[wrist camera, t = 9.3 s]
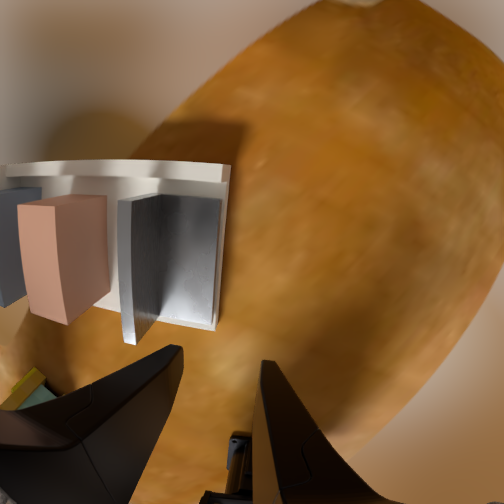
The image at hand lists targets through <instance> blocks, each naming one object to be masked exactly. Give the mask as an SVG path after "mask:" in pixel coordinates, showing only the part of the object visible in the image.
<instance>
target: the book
mask: <svg viewBox="0 0 504 504" xmlns="http://www.w3.org/2000/svg"><path fill="white" fill-rule="evenodd" d="M45 380H46V377H45V376H44V375H43V374H42V373H41V372H40V371H39V370H38V369H36V368H35V367H34V368H33V369H31V370H30V371H29V372H28V373H27V374H26V375H25V376H24V377H23V378H22V379H21V380H20V381H19V382H18V383H17V384H16V385H15V386H14V387H13V388H12V389H11V390H12V394H11V395H10V396H9V397H8V398H7V399H6V400H5V401H4V402H3V403H2V404H1V405H0V409H1V410H19V409H23V408H26V407H30V406H33V405H36V404H39V403H42V402H46V401H49V400H52V399H55V398H57V397H56V396H54V395H53V394H52V393H51V392H50V391H49V390H47V389H46V388H45V387H44V386H45ZM63 395H66V394H65V393H64V394H63ZM63 395H62V396H63Z"/></svg>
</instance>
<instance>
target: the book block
mask: <svg viewBox="0 0 504 504" xmlns="http://www.w3.org/2000/svg"><path fill="white" fill-rule="evenodd" d="M17 210H18V228H19V240H20V250H21V259H22V266H23V273H24V279H25V285H26V291H27V296H28V301H29V306H30V311H31V313H33V314H36V315H39V316H41V317H44V318H47V319H50V320H53V321H56V322H59V323H62V324H65V325H69V324H70V323H71V322H73V321H74V320H75V319H76V318H77V317H79V316H80V315H81V314H82V313H84V312H85V311H86V310H87V309H89V308H90V307H91V306H92V305H94V304H95V303H96V302H98V301H99V300H100V299H101V298H103V297H104V296H105V295H107V294H108V293H109V292H110V281H109V266H108V246H107V195H82V194H68V195H63V196H57V197H52V198H47V199H42V200H37V201H32V202H27V203H23V204H18V205H17Z"/></svg>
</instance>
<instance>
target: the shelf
mask: <svg viewBox="0 0 504 504" xmlns="http://www.w3.org/2000/svg"><path fill="white" fill-rule="evenodd" d="M230 172H231V165H225V164H215V163H201V162H184V161H163V160H67V161H46V162H31V163H19V164H8V165H0V306H2V307H4V308H5V307H7V306H9V305H10V304H12V303H14V302H15V301H17V300H19V299H20V298H22V297H23V296H25V295H27V291H26V285H25V279H24V273H23V266H22V259H21V250H20V240H19V228H18V210H17V205H18V204H23V203H27V202H32V201H37V200H42V199H47V198H52V197H57V196H63V195H68V194H82V195H107V246H108V266H109V281H110V292H109V293H108V294H107V295H105V296H104V297H103V298H101V299H100V300H99V301H98V302H96V303H95V304H94V305H93V306H97V307H100V308H104V309H108V310H113V311H117V312H121V309H120V296H119V280H118V256H117V205H118V200H120V199H125V198H130V197H134V196H139V195H144V194H149V193H165V194H177V195H189V196H200V197H211V198H221V199H222V209H221V220H220V232H219V244H218V257H217V271H216V285H215V300H214V317H213V323H212V325H207V324H201V323H195V322H190V321H184V320H179V319H173V318H168V317H163V316H159V317H158V318H157V319H156V320H157V321H162V322H167V323H172V324H177V325H183V326H188V327H194V328H199V329H205V330H211V331H215V330H216V327H217V325H218V314H219V299H220V285H221V272H222V260H223V247H224V236H225V224H226V213H227V203H228V192H229V182H230Z"/></svg>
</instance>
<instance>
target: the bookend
mask: <svg viewBox="0 0 504 504" xmlns="http://www.w3.org/2000/svg"><path fill="white" fill-rule="evenodd" d="M221 209H222V199H221V198H211V197H200V196H189V195H177V194H165V193H149V194H144V195H139V196H134V197H130V198H125V199H120V200H118V205H117V256H118V280H119V296H120V309H121V319H122V329H123V338H124V342H125V343H129V344H133V345H137V344H138V342H139V341H140V340H141V338H142V337H143V336H144V335H145V333H146V332H147V331H148V330H149V328H150V327H151V326H152V325H153V323H154V322H155V321H156V319H157V318H158V317H159V316H163V317H168V318H173V319H179V320H184V321H190V322H195V323H201V324H207V325H212V323H213V317H214V300H215V285H216V271H217V257H218V244H219V232H220V220H221Z"/></svg>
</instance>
